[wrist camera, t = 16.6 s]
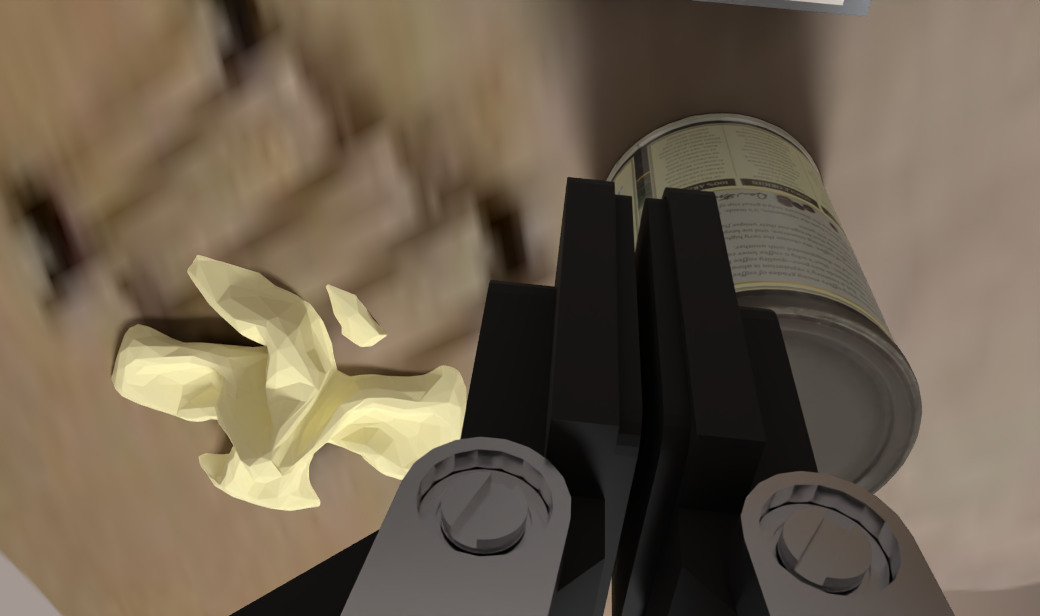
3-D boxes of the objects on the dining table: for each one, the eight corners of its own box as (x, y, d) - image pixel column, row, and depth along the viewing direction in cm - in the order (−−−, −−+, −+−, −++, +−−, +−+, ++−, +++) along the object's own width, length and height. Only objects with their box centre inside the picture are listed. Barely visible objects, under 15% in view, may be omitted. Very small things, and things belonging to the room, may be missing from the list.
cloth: (532, 444, 50) (525, 530, 45) (286, 538, 57) (257, 622, 52) (279, 132, 39) (234, 200, 34) (12, 293, 46) (-58, 369, 41)
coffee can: (828, 290, 42) (915, 525, 30) (614, 318, 44) (621, 549, 32) (826, 89, 36) (933, 287, 25) (578, 131, 38) (572, 333, 26)
